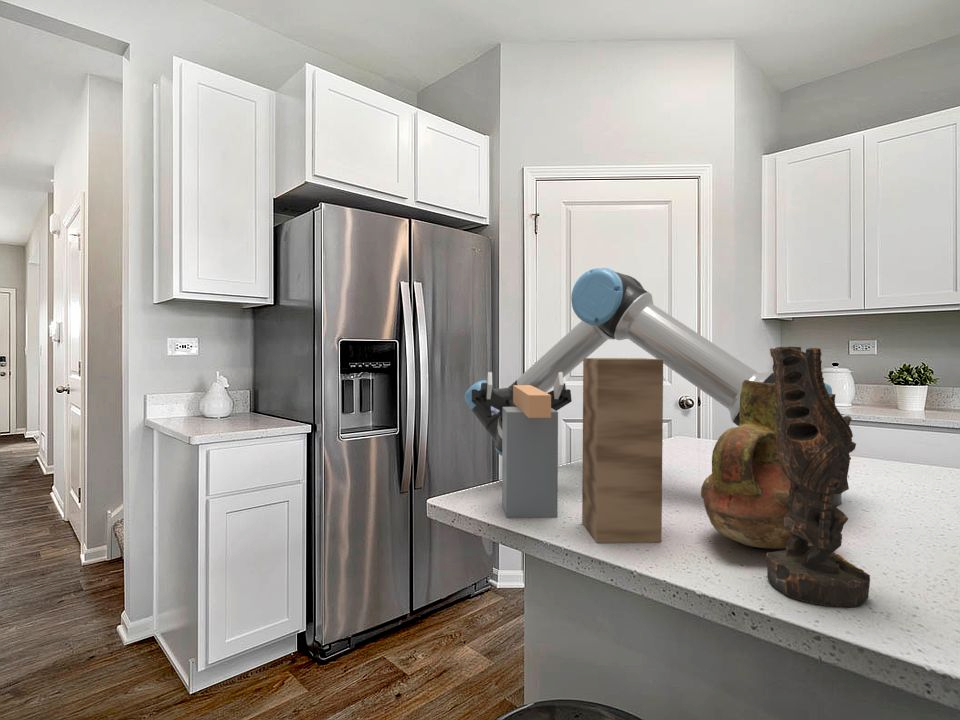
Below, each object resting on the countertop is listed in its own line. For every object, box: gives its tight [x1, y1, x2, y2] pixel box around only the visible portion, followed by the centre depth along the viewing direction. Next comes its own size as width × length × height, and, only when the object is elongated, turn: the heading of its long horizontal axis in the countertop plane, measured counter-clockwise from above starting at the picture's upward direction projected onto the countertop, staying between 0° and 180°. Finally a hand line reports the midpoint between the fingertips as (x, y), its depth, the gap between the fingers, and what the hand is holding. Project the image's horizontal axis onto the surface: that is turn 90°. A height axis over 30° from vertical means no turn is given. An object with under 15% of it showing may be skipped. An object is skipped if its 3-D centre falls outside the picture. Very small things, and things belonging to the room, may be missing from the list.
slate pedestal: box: [501, 407, 559, 519], centre depth 104 cm, size 9×9×18 cm
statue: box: [765, 346, 871, 608], centre depth 70 cm, size 10×10×30 cm
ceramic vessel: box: [700, 380, 830, 550], centre depth 87 cm, size 17×26×25 cm, turn 131°
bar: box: [513, 385, 551, 418], centre depth 104 cm, size 25×4×4 cm, turn 2°
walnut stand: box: [581, 357, 664, 544], centre depth 91 cm, size 10×10×28 cm
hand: (525, 378), depth 108 cm, fingers open, 13 cm apart
